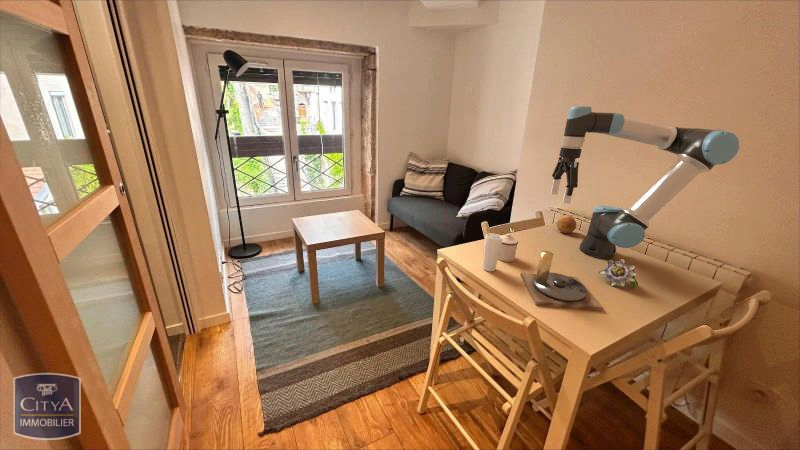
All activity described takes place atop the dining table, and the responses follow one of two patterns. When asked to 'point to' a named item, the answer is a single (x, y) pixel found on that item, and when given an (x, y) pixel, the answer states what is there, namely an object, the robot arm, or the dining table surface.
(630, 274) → the passion flower
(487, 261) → the drinking glass
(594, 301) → the base plate
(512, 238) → the teacup with lid
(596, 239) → the robot arm
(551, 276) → the handwheel
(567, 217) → the onion
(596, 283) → the dining table surface
